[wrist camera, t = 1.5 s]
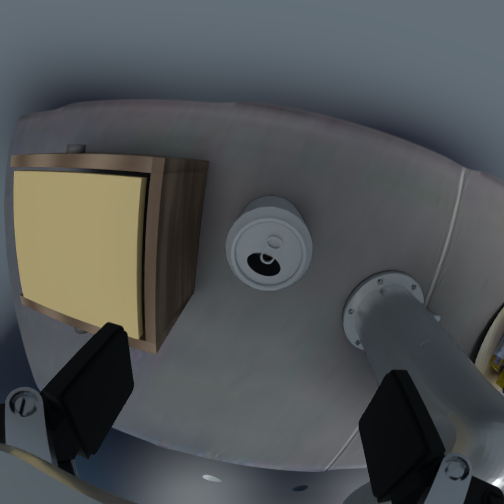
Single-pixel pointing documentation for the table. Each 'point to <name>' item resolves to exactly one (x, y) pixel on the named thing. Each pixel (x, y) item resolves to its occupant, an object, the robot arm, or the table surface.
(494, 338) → the stacked yellow boxes
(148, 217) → the trapdoor frame
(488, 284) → the table surface
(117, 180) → the trapdoor flap
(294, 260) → the can
